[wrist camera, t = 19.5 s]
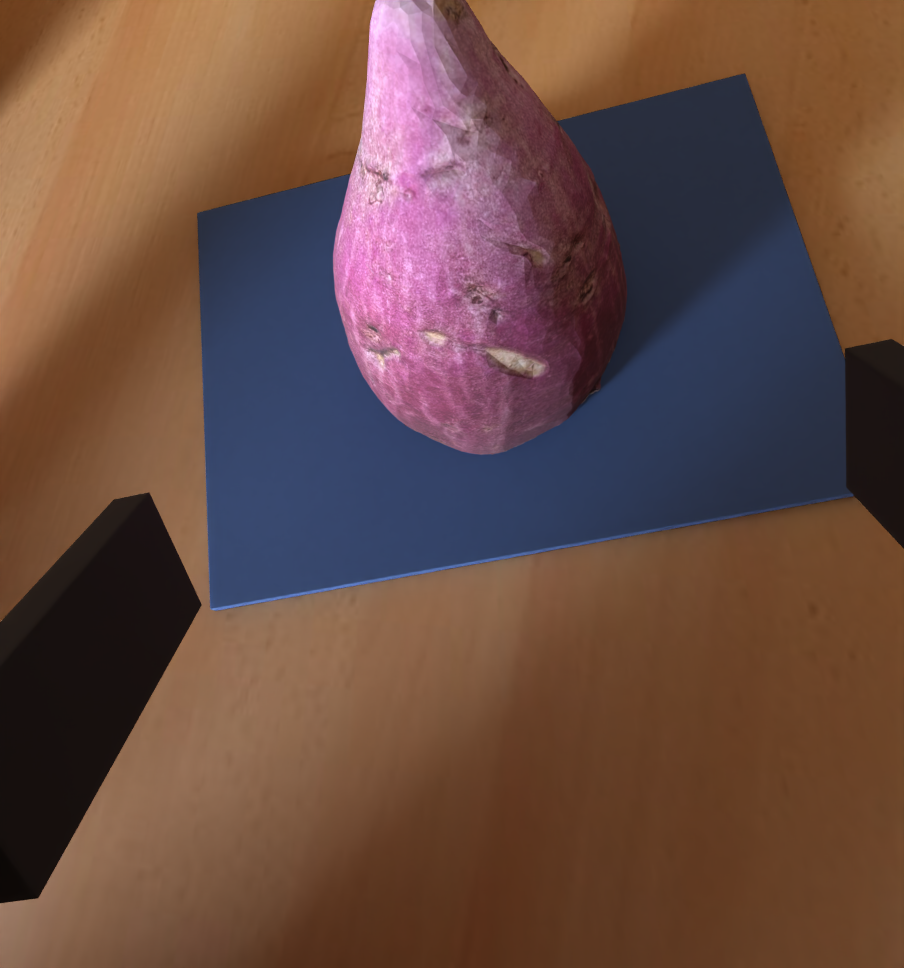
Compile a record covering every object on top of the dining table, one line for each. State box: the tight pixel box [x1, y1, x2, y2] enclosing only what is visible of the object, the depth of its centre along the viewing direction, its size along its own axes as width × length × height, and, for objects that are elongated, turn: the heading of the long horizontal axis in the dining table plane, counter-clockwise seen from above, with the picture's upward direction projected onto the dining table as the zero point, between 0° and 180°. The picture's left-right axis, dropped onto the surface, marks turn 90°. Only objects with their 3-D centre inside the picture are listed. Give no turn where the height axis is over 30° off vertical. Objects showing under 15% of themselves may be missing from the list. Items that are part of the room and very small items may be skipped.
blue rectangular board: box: [197, 74, 854, 611], centre depth 30 cm, size 24×18×1 cm
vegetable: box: [333, 0, 627, 455], centre depth 24 cm, size 10×10×15 cm
